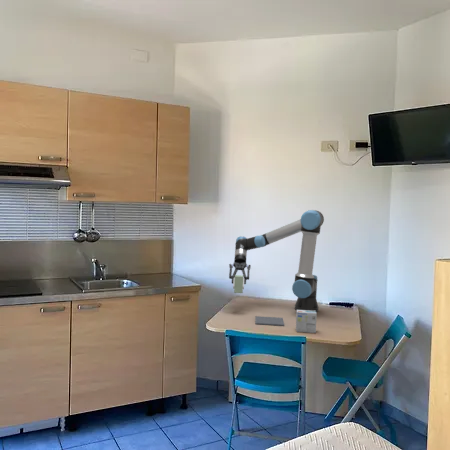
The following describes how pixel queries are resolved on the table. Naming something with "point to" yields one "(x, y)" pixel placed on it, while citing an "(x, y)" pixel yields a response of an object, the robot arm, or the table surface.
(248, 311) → the table surface
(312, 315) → the light bulb box
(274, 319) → the mat
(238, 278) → the sage block
